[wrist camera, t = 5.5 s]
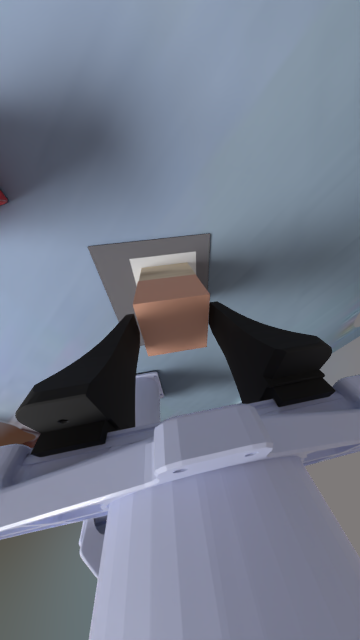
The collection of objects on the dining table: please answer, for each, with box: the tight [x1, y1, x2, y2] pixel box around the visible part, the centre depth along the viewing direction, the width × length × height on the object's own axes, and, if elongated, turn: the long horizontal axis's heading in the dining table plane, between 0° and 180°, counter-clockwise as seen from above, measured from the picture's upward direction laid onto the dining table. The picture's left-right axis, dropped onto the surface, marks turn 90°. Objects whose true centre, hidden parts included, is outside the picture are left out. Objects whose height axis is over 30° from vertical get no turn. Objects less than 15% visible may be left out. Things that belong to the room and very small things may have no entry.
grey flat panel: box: [88, 234, 210, 346], centre depth 18 cm, size 14×12×1 cm
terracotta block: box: [133, 274, 210, 356], centre depth 12 cm, size 5×5×4 cm
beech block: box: [139, 262, 195, 281], centre depth 15 cm, size 5×5×4 cm
